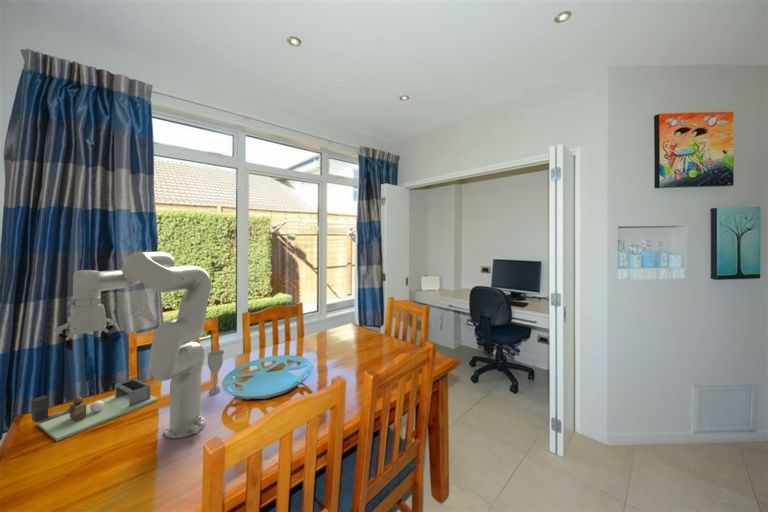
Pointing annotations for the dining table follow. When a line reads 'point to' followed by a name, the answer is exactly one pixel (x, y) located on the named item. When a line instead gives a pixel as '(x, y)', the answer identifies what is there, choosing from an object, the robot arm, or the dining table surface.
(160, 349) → the robot arm
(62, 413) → the striker
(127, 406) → the plate
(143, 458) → the dining table surface
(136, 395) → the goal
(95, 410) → the ball
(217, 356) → the chalice
